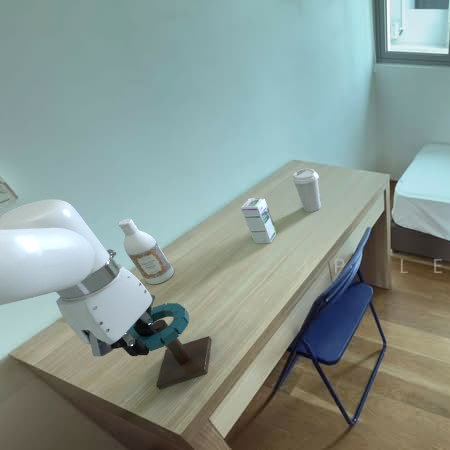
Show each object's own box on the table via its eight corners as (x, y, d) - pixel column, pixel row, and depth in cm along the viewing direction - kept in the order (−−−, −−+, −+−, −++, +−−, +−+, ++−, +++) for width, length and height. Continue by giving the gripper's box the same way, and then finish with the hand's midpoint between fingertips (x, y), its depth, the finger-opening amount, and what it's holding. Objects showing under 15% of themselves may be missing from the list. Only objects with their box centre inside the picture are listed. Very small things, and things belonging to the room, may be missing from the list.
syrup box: (271, 243, 103) (258, 206, 95) (254, 243, 104) (239, 207, 95) (277, 233, 108) (265, 197, 100) (260, 233, 108) (247, 197, 100)
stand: (207, 373, 66) (179, 334, 58) (159, 389, 64) (123, 351, 56) (211, 339, 73) (187, 301, 65) (168, 353, 71) (137, 314, 63)
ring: (187, 337, 60) (183, 331, 58) (125, 361, 56) (119, 354, 55) (190, 302, 67) (186, 296, 66) (135, 321, 63) (130, 314, 62)
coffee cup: (316, 199, 127) (308, 165, 119) (329, 206, 122) (322, 172, 113) (295, 208, 122) (286, 173, 113) (308, 216, 116) (299, 181, 108)
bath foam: (147, 288, 88) (107, 232, 77) (147, 275, 93) (109, 220, 81) (175, 278, 91) (140, 222, 80) (173, 265, 96) (140, 211, 85)
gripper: (106, 244, 55) (157, 312, 65) (8, 318, 41) (91, 388, 52) (147, 243, 54) (191, 312, 65) (60, 318, 41) (133, 389, 51)
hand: (146, 346), depth 58 cm, fingers closed on ring, 2 cm apart
